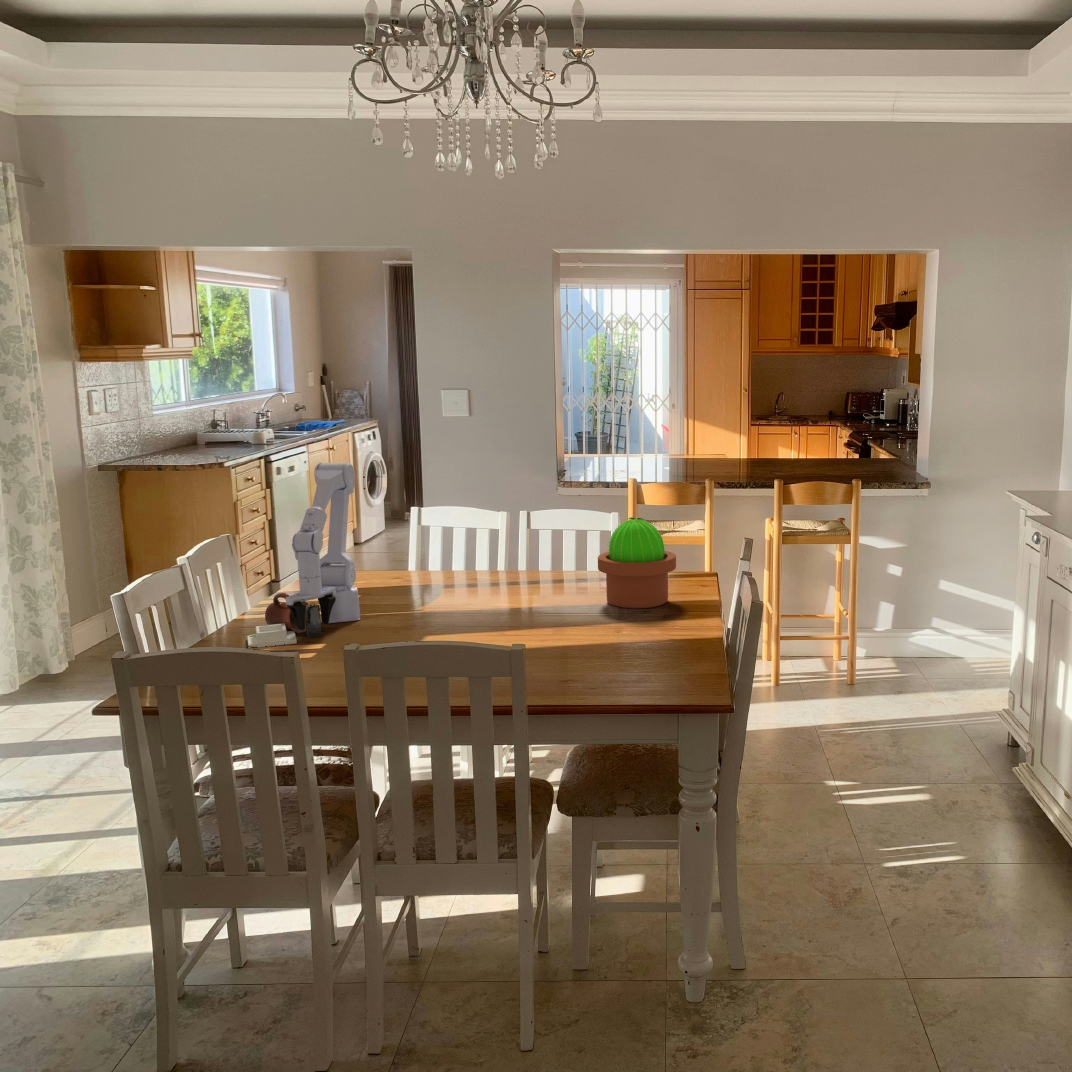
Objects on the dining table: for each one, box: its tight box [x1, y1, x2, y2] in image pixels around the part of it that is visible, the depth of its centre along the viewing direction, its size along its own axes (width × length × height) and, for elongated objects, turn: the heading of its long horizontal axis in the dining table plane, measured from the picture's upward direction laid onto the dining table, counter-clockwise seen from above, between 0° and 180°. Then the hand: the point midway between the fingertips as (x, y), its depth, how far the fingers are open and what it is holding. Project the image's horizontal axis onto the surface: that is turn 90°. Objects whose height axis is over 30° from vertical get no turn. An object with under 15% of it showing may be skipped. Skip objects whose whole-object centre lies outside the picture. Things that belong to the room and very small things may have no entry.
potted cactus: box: [597, 516, 677, 609], centre depth 288 cm, size 22×22×25 cm
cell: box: [305, 602, 322, 638], centre depth 265 cm, size 4×4×9 cm
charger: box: [247, 623, 297, 649], centre depth 261 cm, size 12×9×4 cm
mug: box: [264, 592, 309, 634], centre depth 271 cm, size 12×9×10 cm
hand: (313, 626), depth 265 cm, fingers open, 7 cm apart
